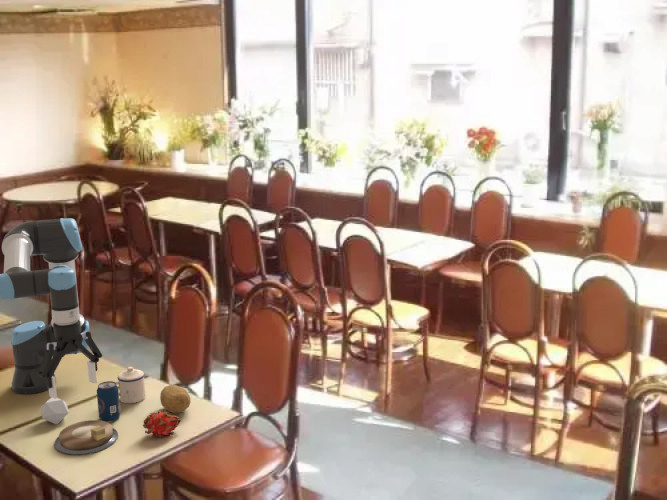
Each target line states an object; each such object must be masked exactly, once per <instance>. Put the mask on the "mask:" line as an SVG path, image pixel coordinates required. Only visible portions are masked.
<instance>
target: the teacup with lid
mask: <svg viewBox="0 0 667 500" xmlns="http://www.w3.org/2000/svg"><path fill="white" fill-rule="evenodd" d="M117 380H118V381H116V382H115V381H114V382H115V383H116V385H117V386H118V390H119V401H120V402H122V403H124V404H136V402H137V403H140V402H143V400H145V398H146V389H145V388H146V386H145V372H144V371H143V370H140V369H136V368H134V367H133V366H128V367H127V369H125V370H124V371H121V372H120V373H119V374H118V375H117Z"/></svg>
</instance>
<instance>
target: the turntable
mask: <svg viewBox="0 0 667 500" xmlns="http://www.w3.org/2000/svg"><path fill="white" fill-rule="evenodd" d="M112 428H113V426H112V424H111V423H110V422H105V421H102V420H99V419H97V420H96V419H95V420H94V419H91V420H82V421H79V422H75V423H72V424H69V425H67V426H66V427H64V428H63V429H62V430H61V431H60V432H59V434H58V437H59V441H60V444H61V446H63V447H64V448H67V449H71V450H85V449H91V448H95V447H98V446H100V445H103V444H105V443H106V442H108V441H109V440H110V439H111V438H112V436H113V429H112Z"/></svg>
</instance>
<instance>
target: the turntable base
mask: <svg viewBox="0 0 667 500" xmlns="http://www.w3.org/2000/svg"><path fill="white" fill-rule="evenodd" d="M112 429H113V436H112V438H111V439H110V440H109V441H108V442H106V443H105V444H103V445H100V446H98V447H95V448H91V449H85V450H71V449H67V448H64V447H63V446H61V444H60V441H59V436H58V437H56V439H55V440H54V449H56V451H58V452H60V453H61V454H65V455H69V456H84V455H90V453H91V454H95V453H99V452H101V451H104V450H106V449H107V448H111V446H113V445H114V444H115V443H116V442H117V441H118V439H119V432H118V430H117V429H115V428H114V427H112ZM116 440H117V441H116ZM103 449H104V450H103ZM98 451H99V452H98ZM94 452H95V453H94ZM83 454H84V455H83Z"/></svg>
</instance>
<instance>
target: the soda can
mask: <svg viewBox="0 0 667 500" xmlns="http://www.w3.org/2000/svg"><path fill="white" fill-rule="evenodd" d="M119 393H120V392H119V386H118V385H116V383H115V381H111V380H110V381H102V382H100V383H99V384H98V385H97V389H96V396H97V397H96V398H97V409H98V411H97V412H98V417H99V419H100V421H105V422H107V423H112V422H116V421H117V420H118V419H119V418H120V417H121V413H122V412H121V404H120V402H121V400H120V396H119Z"/></svg>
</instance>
